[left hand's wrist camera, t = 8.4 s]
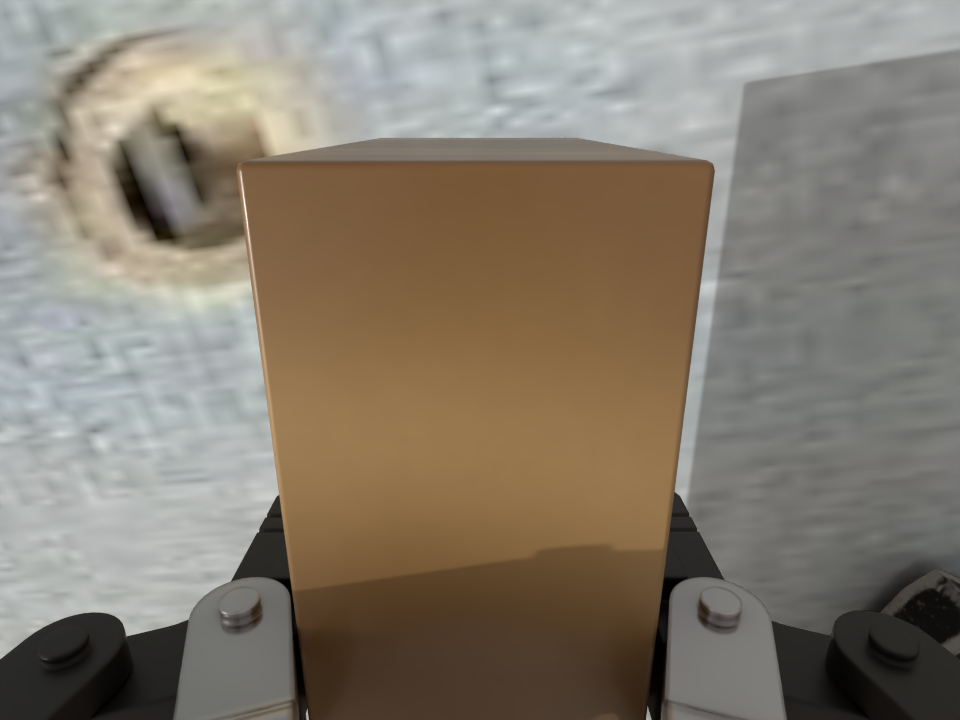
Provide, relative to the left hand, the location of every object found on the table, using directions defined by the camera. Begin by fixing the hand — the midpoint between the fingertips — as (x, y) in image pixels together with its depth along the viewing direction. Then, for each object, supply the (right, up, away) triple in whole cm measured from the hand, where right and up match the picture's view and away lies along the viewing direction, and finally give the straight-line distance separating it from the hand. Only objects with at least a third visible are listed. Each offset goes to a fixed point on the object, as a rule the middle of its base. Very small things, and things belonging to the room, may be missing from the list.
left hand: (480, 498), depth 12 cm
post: (0, -19, +11) cm, 22 cm away
